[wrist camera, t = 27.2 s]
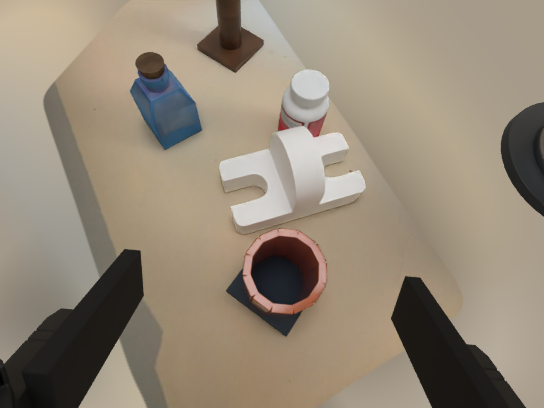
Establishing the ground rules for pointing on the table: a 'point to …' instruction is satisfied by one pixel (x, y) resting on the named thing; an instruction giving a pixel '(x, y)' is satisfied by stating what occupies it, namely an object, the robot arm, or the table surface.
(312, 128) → the pill bottle
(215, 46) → the stand
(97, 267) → the table surface
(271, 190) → the white slotted bracket
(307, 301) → the orange hollow cylinder
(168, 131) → the perfume bottle
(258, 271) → the mat
